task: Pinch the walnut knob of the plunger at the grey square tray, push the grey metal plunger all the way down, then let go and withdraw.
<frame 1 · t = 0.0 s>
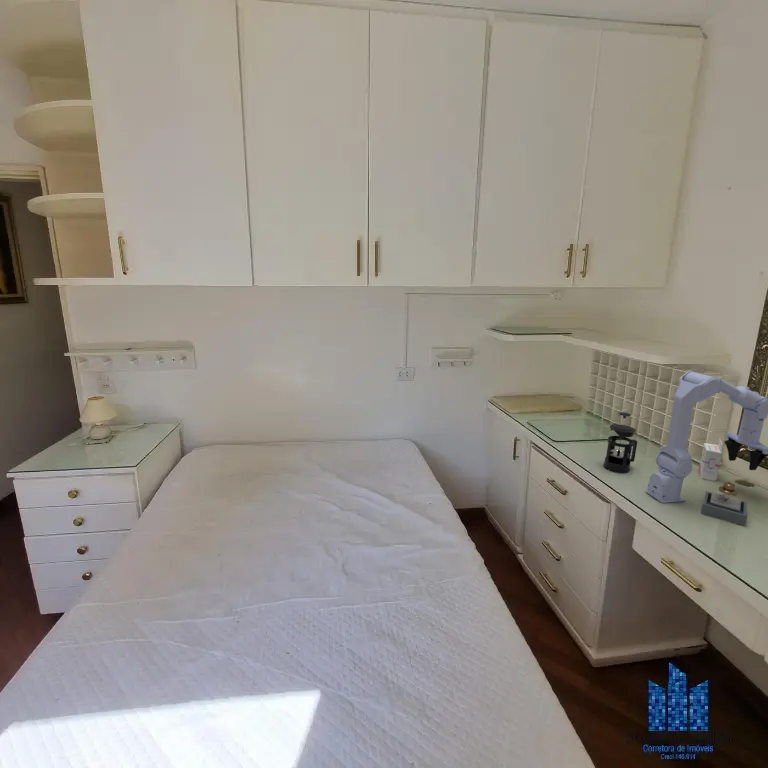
hand: (742, 464, 153), 10 cm above the table, fingers open, 7 cm apart
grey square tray: (722, 512, 142), on the table
plunger: (727, 493, 140), point 7 cm above the table, slide at 3.5 cm
ink cartridge box: (706, 476, 168), on the table
french press: (617, 468, 173), on the table
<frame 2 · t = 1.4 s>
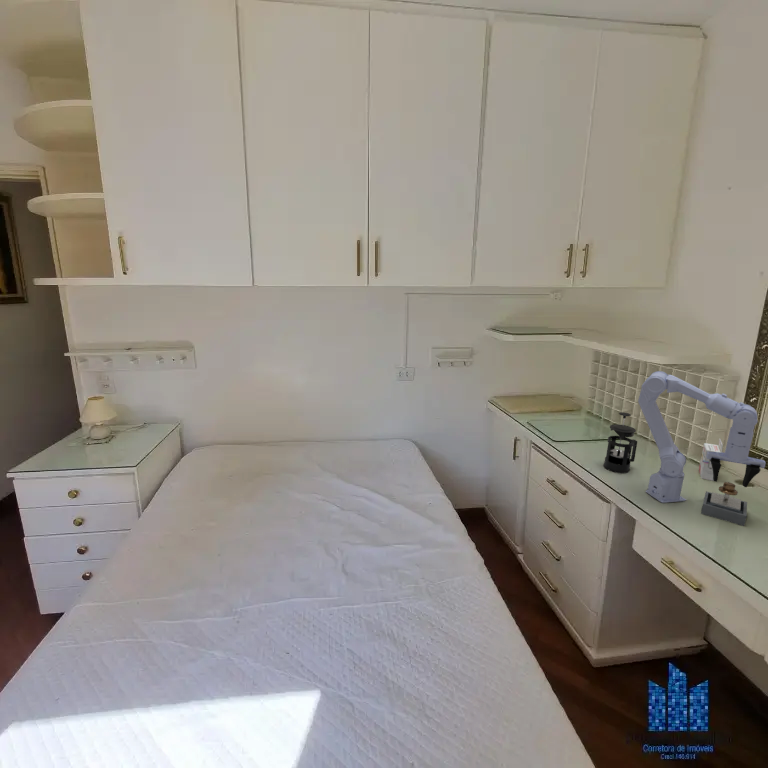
hand: (729, 483, 139), 10 cm above the table, fingers open, 7 cm apart
nothing on the table moved.
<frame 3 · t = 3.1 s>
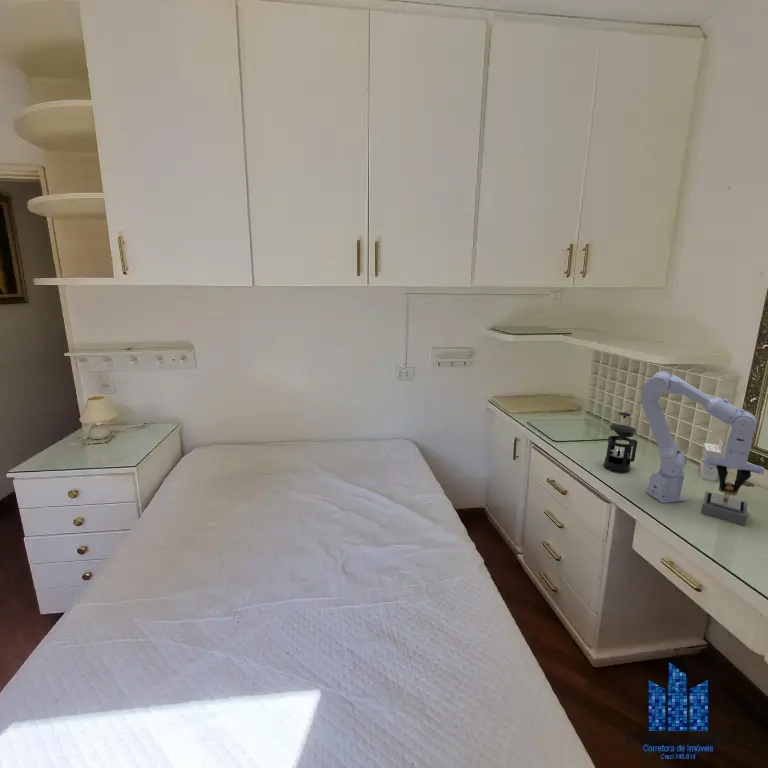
hand: (728, 489, 140), 8 cm above the table, fingers closed on plunger, 3 cm apart
plunger: (727, 493, 140), point 7 cm above the table, slide at 3.5 cm, touching gripper
everything else where it was.
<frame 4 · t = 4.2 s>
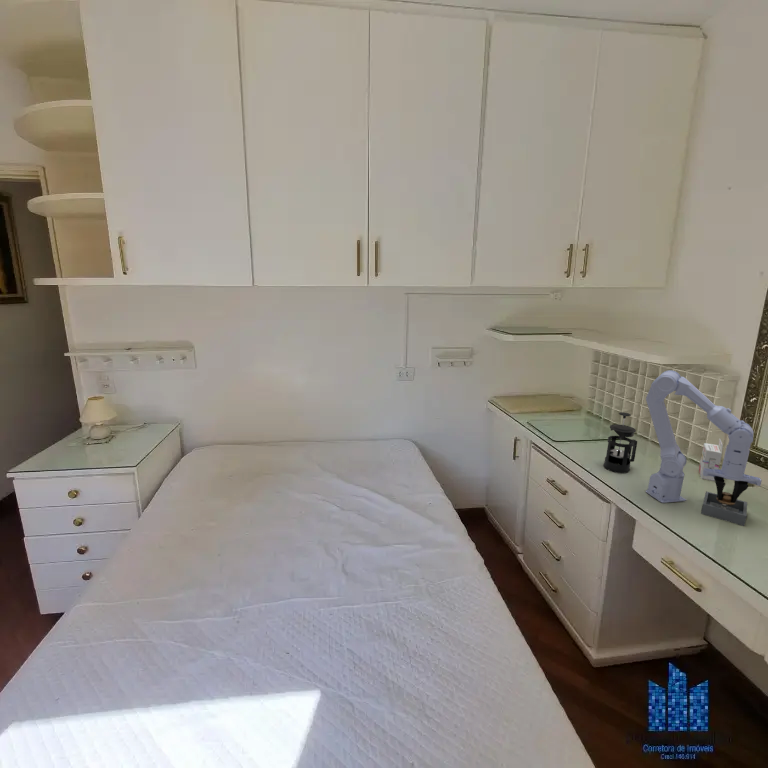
hand: (725, 499, 141), 5 cm above the table, fingers closed on plunger, 3 cm apart
plunger: (725, 503, 141), point 3 cm above the table, slide at -0.1 cm, touching gripper
everything else where it was.
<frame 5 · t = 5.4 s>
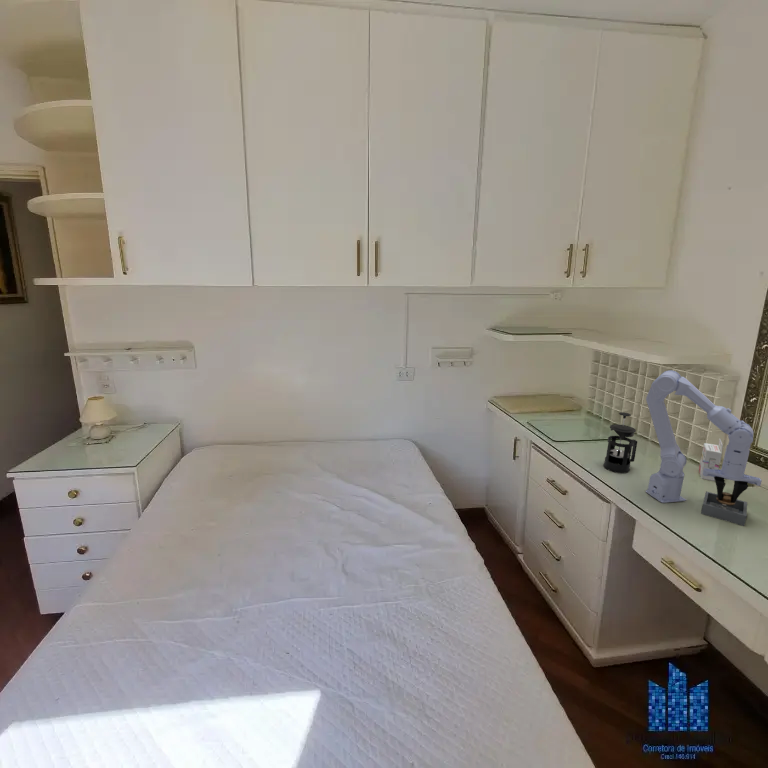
hand: (725, 500, 141), 5 cm above the table, fingers closed on plunger, 3 cm apart
plunger: (725, 503, 141), point 3 cm above the table, slide at -0.1 cm, touching gripper, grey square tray
everything else where it was.
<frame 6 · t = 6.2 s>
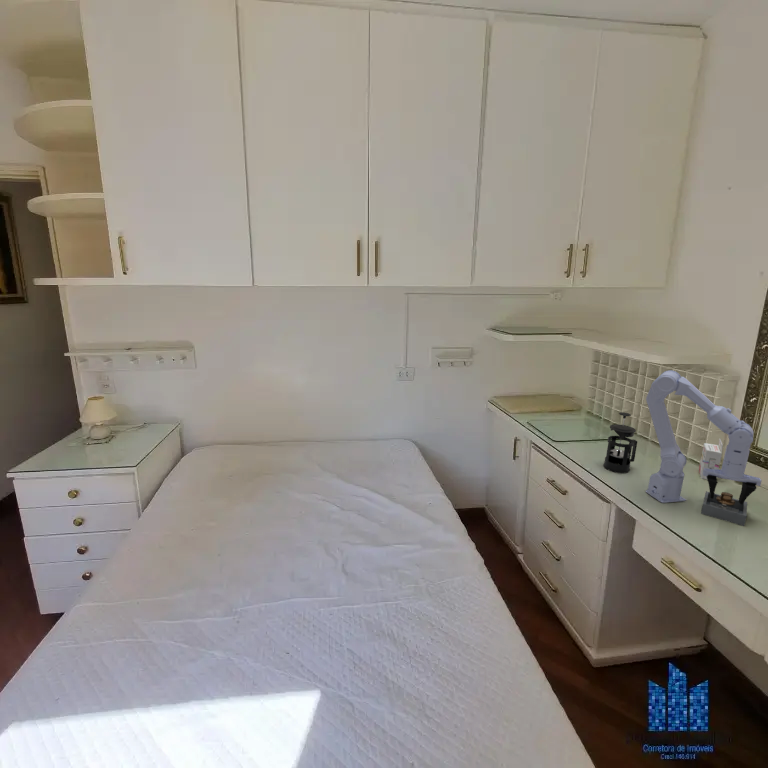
hand: (725, 500, 141), 5 cm above the table, fingers open, 7 cm apart
plunger: (725, 503, 141), point 3 cm above the table, slide at -0.1 cm, touching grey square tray
everything else where it was.
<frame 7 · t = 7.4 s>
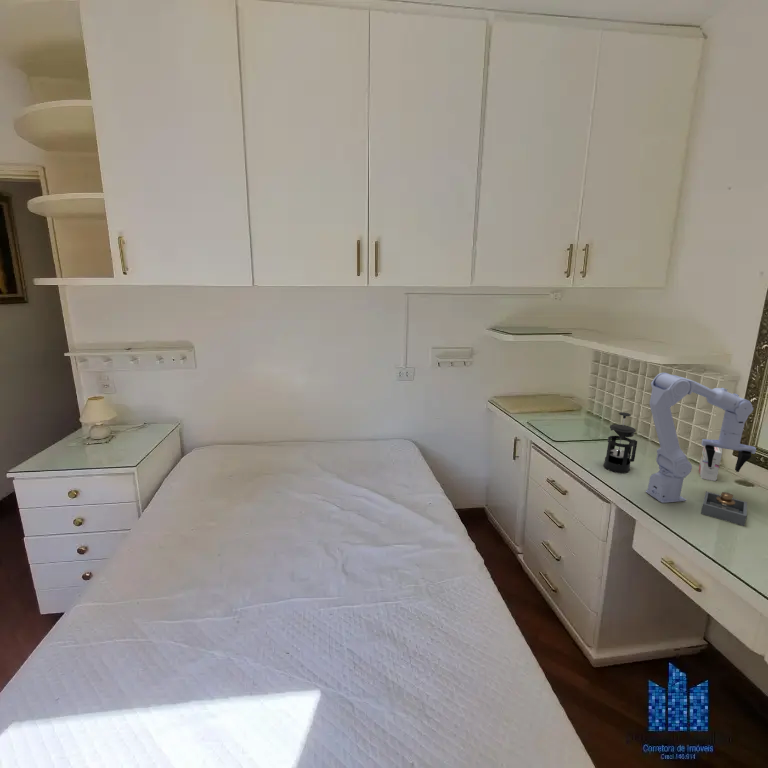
hand: (722, 468, 150), 10 cm above the table, fingers open, 7 cm apart
nothing on the table moved.
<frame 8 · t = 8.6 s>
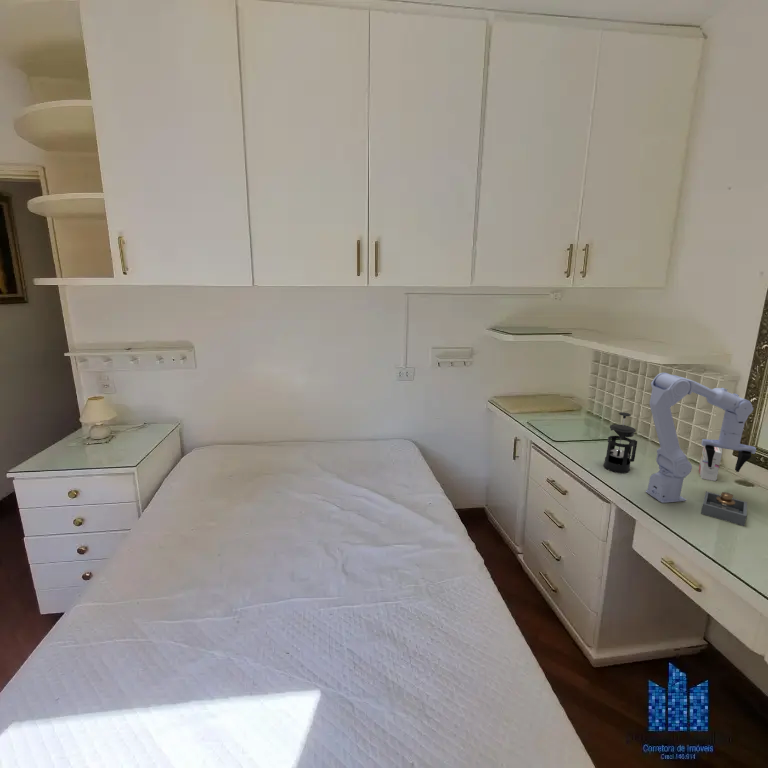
hand: (722, 468, 150), 10 cm above the table, fingers open, 7 cm apart
nothing on the table moved.
at the end: plunger slide at -0.1 cm; the gripper is holding nothing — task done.
